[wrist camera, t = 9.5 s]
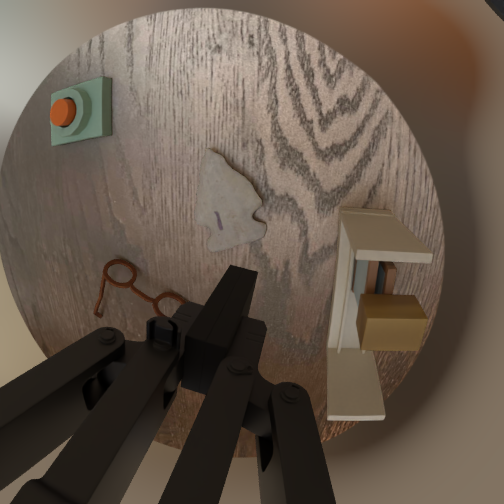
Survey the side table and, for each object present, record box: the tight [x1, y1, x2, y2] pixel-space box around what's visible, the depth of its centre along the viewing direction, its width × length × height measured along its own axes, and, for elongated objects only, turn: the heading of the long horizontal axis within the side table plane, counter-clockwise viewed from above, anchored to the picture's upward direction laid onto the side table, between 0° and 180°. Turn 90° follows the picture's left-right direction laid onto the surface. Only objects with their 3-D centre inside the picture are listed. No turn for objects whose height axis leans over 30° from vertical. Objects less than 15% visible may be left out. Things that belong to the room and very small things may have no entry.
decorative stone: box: [194, 148, 266, 252], centre depth 34 cm, size 8×12×3 cm
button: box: [50, 99, 77, 126], centre depth 31 cm, size 4×4×2 cm
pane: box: [356, 261, 428, 351], centre depth 27 cm, size 8×5×13 cm, turn 1°
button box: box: [50, 77, 112, 146], centre depth 33 cm, size 8×10×4 cm
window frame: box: [326, 207, 433, 420], centre depth 30 cm, size 18×6×14 cm, turn 1°
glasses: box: [94, 259, 186, 318], centre depth 41 cm, size 13×13×5 cm
